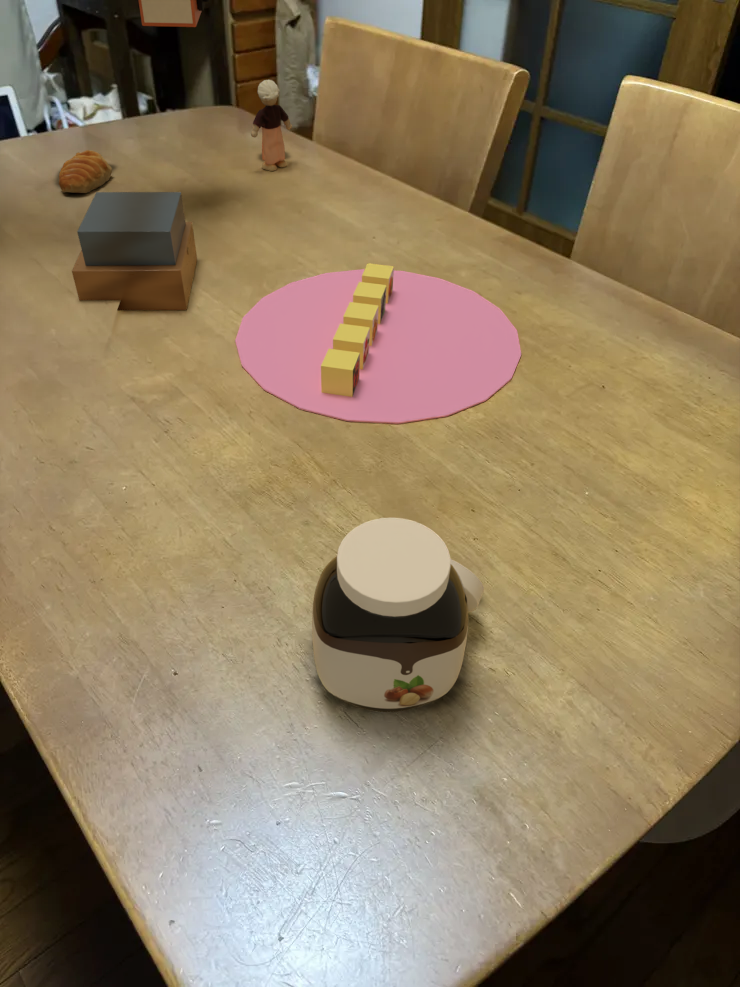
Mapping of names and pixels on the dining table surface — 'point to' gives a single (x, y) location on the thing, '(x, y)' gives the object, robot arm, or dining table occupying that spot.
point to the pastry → (84, 172)
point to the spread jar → (392, 617)
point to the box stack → (136, 251)
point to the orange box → (169, 13)
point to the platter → (378, 346)
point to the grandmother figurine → (271, 126)
